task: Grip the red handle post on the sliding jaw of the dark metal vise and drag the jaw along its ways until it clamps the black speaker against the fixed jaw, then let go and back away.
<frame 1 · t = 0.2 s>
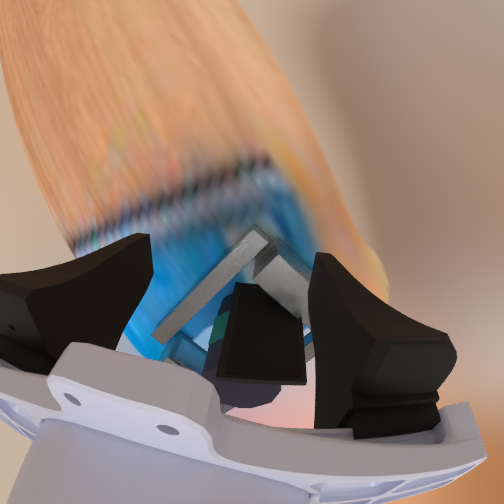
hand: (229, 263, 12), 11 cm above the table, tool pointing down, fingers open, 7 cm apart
vise body: (249, 324, 26), on the table
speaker: (258, 314, 26), on the table, touching vise body
jaw slide: (194, 395, 23), point 5 cm above the table, slide at 0.0 cm
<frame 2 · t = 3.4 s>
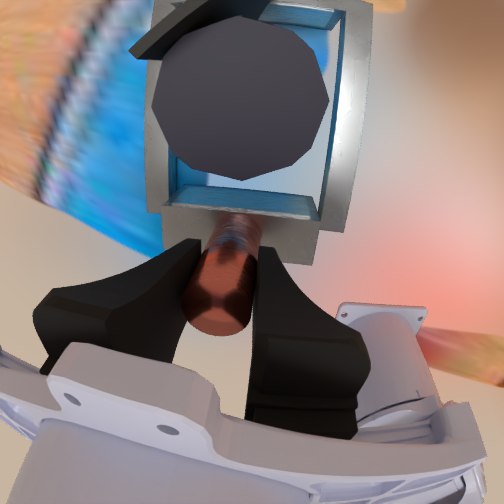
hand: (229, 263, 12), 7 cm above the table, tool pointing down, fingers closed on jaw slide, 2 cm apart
vise body: (254, 99, 15), on the table
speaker: (257, 82, 15), on the table, touching vise body
jaw slide: (234, 242, 14), point 5 cm above the table, slide at 0.0 cm, touching gripper
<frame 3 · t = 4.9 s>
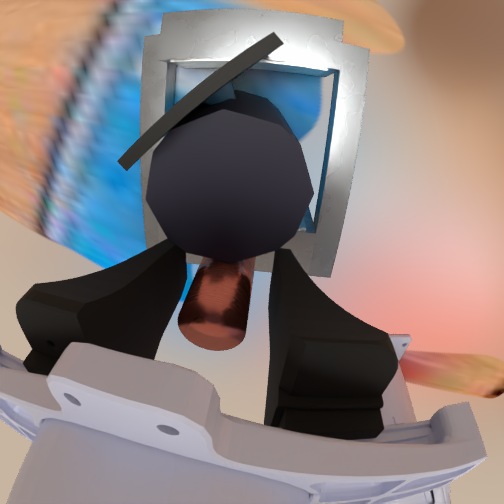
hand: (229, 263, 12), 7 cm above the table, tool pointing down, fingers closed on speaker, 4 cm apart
vise body: (246, 151, 16), on the table
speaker: (249, 131, 16), on the table, touching gripper, vise body
jaw slide: (230, 255, 14), point 5 cm above the table, slide at 2.6 cm
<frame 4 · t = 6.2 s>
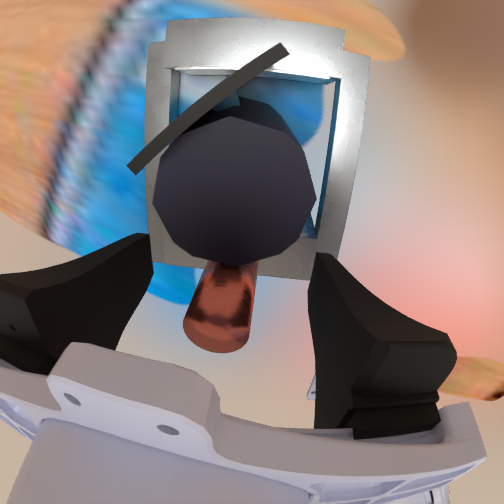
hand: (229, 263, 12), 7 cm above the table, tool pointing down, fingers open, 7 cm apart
vise body: (249, 158, 17), on the table
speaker: (252, 137, 17), resting on vise body
jaw slide: (234, 260, 14), point 5 cm above the table, slide at 2.6 cm
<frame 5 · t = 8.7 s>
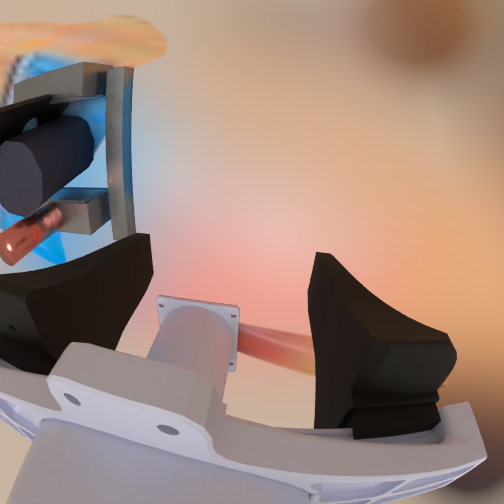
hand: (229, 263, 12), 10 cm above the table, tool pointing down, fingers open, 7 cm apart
vise body: (74, 156, 21), on the table
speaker: (78, 140, 21), resting on vise body
jaw slide: (45, 220, 18), point 5 cm above the table, slide at 2.6 cm
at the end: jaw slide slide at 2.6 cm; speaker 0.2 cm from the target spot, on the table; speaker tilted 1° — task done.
